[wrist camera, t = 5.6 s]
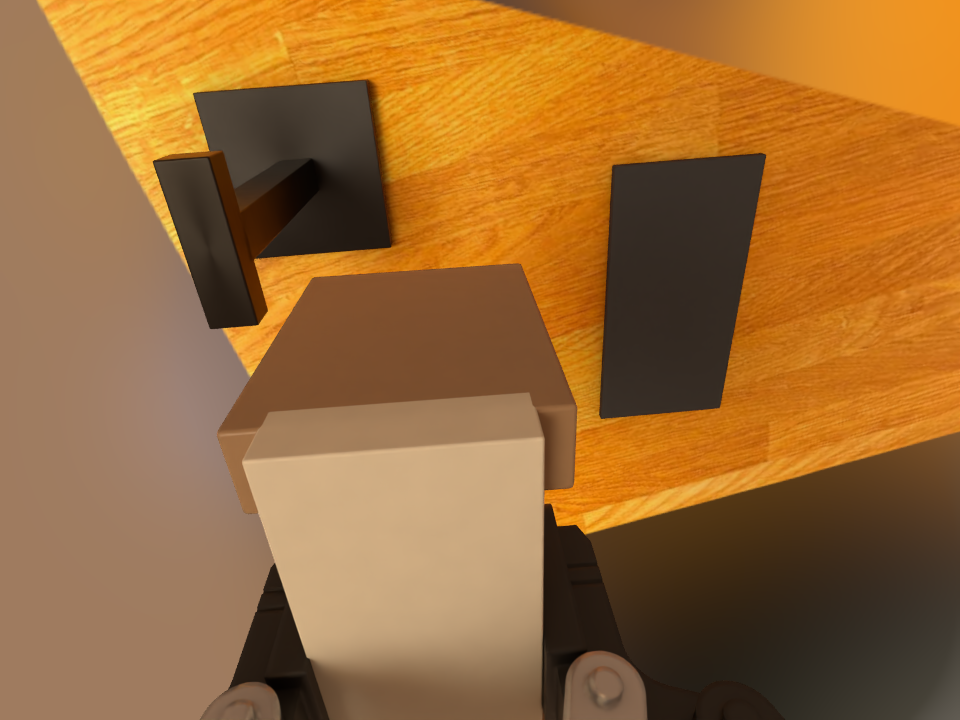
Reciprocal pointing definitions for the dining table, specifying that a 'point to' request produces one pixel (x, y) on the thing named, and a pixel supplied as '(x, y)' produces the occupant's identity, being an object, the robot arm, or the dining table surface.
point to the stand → (274, 187)
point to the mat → (674, 281)
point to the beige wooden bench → (410, 487)
